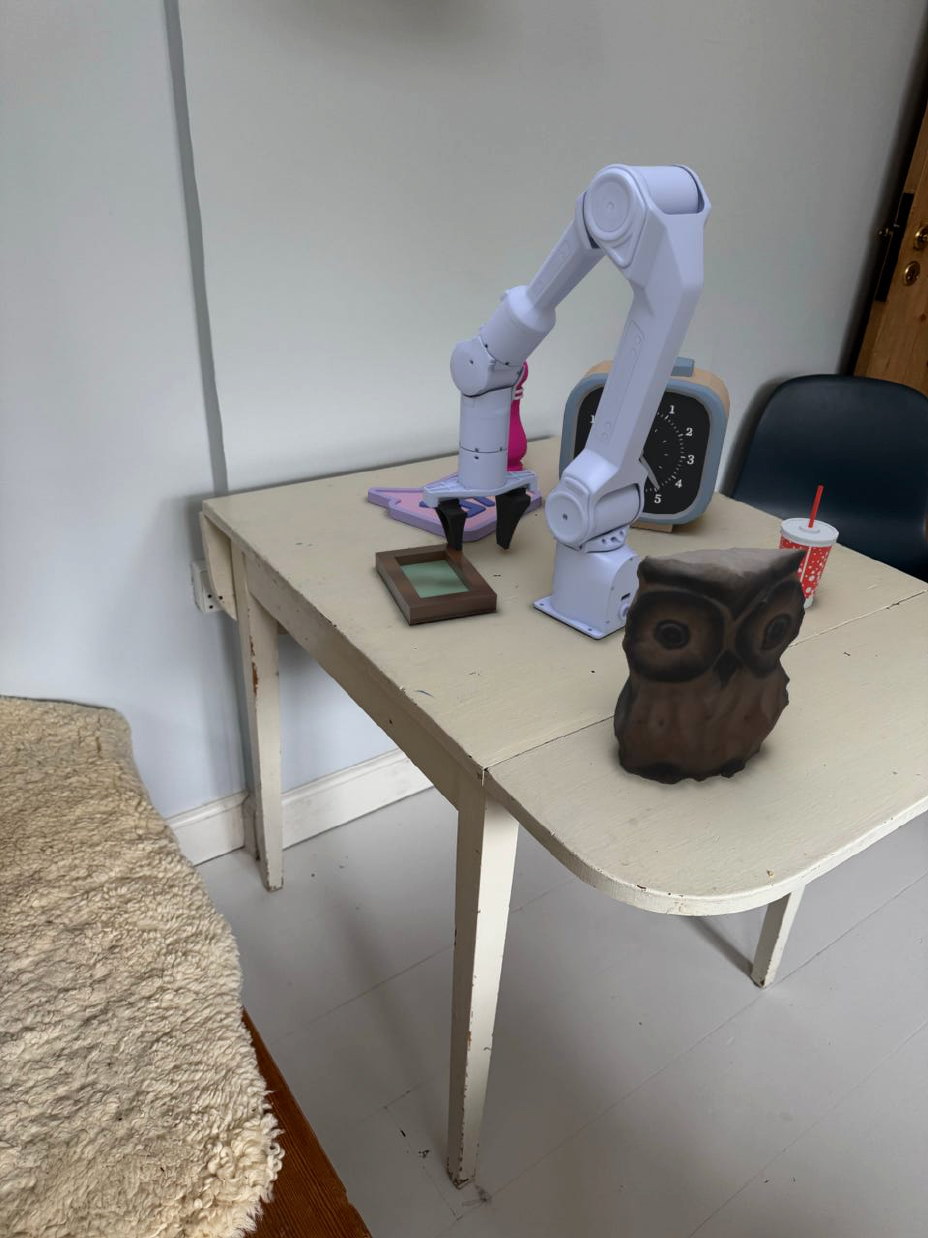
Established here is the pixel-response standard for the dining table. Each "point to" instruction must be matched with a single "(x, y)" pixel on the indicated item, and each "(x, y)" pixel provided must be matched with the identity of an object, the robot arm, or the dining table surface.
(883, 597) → the dining table surface
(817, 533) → the beverage cup
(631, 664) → the owl
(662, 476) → the alarm clock
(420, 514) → the icon
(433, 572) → the frame
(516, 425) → the pepper mill
